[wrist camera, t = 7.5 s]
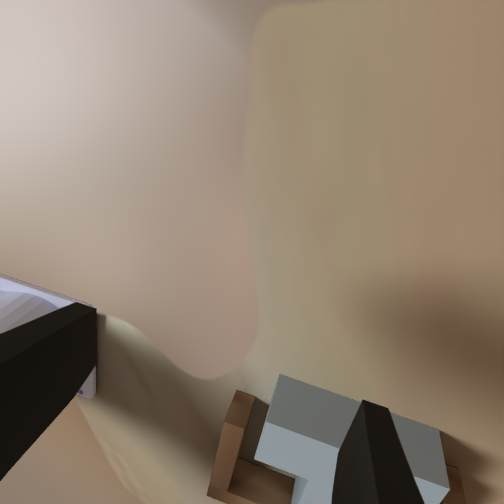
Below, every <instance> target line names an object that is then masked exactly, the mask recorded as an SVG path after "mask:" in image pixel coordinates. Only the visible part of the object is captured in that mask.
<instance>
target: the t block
mask: <svg viewBox="0 0 504 504" xmlns="http://www.w3.org/2000/svg"><path fill="white" fill-rule="evenodd" d="M360 404H361V402H359V401H356V400H353V399H350V398H347V397H344V396H342V395H339V394H336V393H333V392H330V391H327V390H324V389H321V388H319V387H316V386H313V385H310V384H307V383H304V382H301V381H299V380H296V379H293V378H290V377H287V376H284V375H281V374H279V377H278V380H277V384H276V387H275V390H274V393H273V396H272V399H271V403H270V406H269V409H268V412H267V416H266V419H265V423H264V426H263V430H262V433H261V436H260V440H259V443H258V447H257V450H256V454H255V457H254V459H255V460H257V461H260V462H263V463H265V464H268V465H271V466H273V467H276V468H278V469H281V470H284V471H286V472H289V473H291V474H294V475H296V478H295V484H294V489H293V495H292V500H291V504H331V501H332V490H333V483H334V476H335V469H336V463H337V456H338V452H339V449H340V447H341V445H342V443H343V441H344V439H345V436H346V434H347V432H348V430H349V428H350V426H351V424H352V421H353V419H354V417H355V415H356V413H357V411H358V408H359V406H360ZM391 416H392V419H393V422H394V425H395V428H396V431H397V433H398V436H399V439H400V442H401V445H402V447H403V450H404V453H405V455H406V458H407V461H408V463H409V466H410V469H411V471H412V474H413V476H414V479H415V481H416V484H417V486H418V488H419V491H420V493H421V495H422V498H423V500H424V503H425V504H440V502H441V501H442V500H443V498H444V497H445V496H446V494H447V493H448V491H449V490H450V486H449V481H448V476H447V470H446V465H445V460H444V454H443V449H442V444H441V438H440V433H439V429H436V428H433V427H431V426H428V425H425V424H422V423H419V422H416V421H413V420H410V419H408V418H405V417H402V416H399V415H396V414H393V413H391Z"/></svg>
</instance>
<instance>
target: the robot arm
mask: <svg viewBox="0 0 504 504" xmlns="http://www.w3.org/2000/svg"><path fill="white" fill-rule="evenodd" d="M95 394H96V308H94V307H93V306H92V305H90V304H88V303H85V302H82V301H79V300H76V299H73V298H70V297H67V296H64V295H61V294H58V293H56V292H53V291H50V290H46V289H44V288H41V287H38V286H35V285H32V284H29V283H26V282H23V281H20V280H17V279H14V278H12V277H9V276H6V275H3V274H0V481H1V480H2V479H3V477H4V476H5V475H6V474H7V472H8V471H9V470H10V469H11V468H12V467H13V466H14V465H15V463H16V462H17V461H18V460H19V459H20V458H21V457H22V455H23V454H24V453H25V452H26V451H27V450H28V449H29V448H30V447H31V445H32V444H33V443H34V442H35V441H36V440H37V439H38V438H39V436H40V435H41V434H42V433H43V432H44V431H45V430H46V428H47V427H48V426H49V425H50V424H51V423H52V422H53V421H54V420H55V418H56V417H57V416H58V415H59V414H60V413H61V412H62V410H63V409H64V408H65V407H66V406H67V405H68V404H69V402H70V401H71V400H72V399H73V398H74V396H75V395H78V396H81V397H84V398H86V399H92V398H93V397H94V396H95ZM331 504H425V503H424V500H423V498H422V495H421V493H420V491H419V488H418V486H417V484H416V481H415V479H414V476H413V474H412V471H411V469H410V466H409V463H408V461H407V458H406V455H405V453H404V450H403V447H402V445H401V442H400V439H399V436H398V433H397V431H396V428H395V425H394V422H393V419H392V416H391V413H390V411H389V409H388V408H386V407H383V406H380V405H377V404H374V403H371V402H368V401H365V400H362V402H361V404H360V406H359V408H358V411H357V413H356V415H355V417H354V419H353V421H352V424H351V426H350V428H349V430H348V432H347V434H346V436H345V439H344V441H343V443H342V445H341V447H340V449H339V452H338V456H337V463H336V469H335V476H334V483H333V490H332V501H331Z"/></svg>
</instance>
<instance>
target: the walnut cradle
mask: <svg viewBox="0 0 504 504" xmlns="http://www.w3.org/2000/svg"><path fill="white" fill-rule="evenodd" d="M254 400H255V397H254V396H251V395H248V394H245V393H243V392H240V391H237V390H236V393H235V395H234V398H233V400H232V403H231V405H230V407H229V410H228V412H227V415H226V417H225V420H224V423H223V427H222V432H221V436H220V440H219V445H218V449H217V453H216V458H215V462H214V466H213V471H212V475H211V479H210V484H209V488H208V492H207V496H209V497H212V498H214V499H217V500H219V501H222V502H224V503H227V504H291V500H292V495H293V489H294V484H295V479H292V478H289V477H287V476H284V475H281V474H279V473H276V472H274V471H271V470H268V469H266V468H263V467H260V466H258V465H255V464H252V463H250V462H247V461H245V460H242V459H239V454H240V450H241V447H242V443H243V439H244V436H245V432H246V429H247V425H248V421H249V418H250V414H251V410H252V407H253V403H254ZM445 465H446V464H445ZM446 470H447V476H448V481H449V486H450V490H449V491H448V493H447V494H446V496H445V497H444V498H443V500H442V501H441V502H440V504H466V501H465V496H464V492H463V487H462V482H461V477H460V473H459V469H457V468H454V467H451V466H449V465H446Z"/></svg>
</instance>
